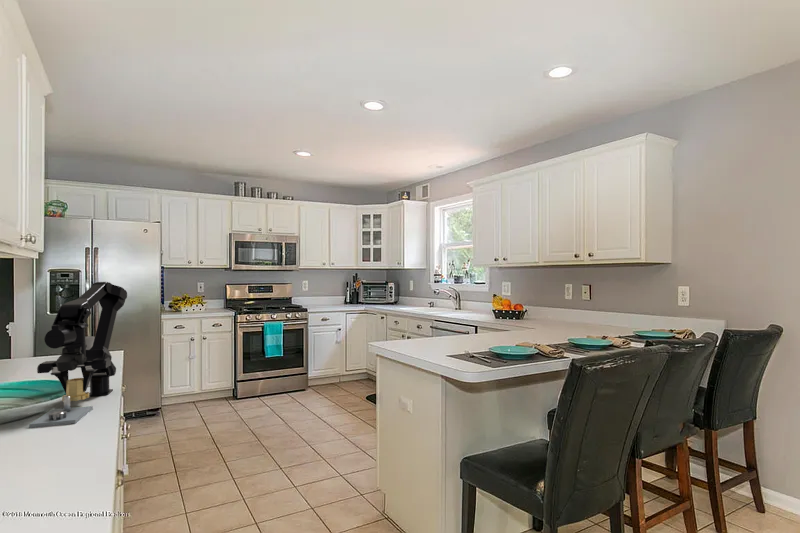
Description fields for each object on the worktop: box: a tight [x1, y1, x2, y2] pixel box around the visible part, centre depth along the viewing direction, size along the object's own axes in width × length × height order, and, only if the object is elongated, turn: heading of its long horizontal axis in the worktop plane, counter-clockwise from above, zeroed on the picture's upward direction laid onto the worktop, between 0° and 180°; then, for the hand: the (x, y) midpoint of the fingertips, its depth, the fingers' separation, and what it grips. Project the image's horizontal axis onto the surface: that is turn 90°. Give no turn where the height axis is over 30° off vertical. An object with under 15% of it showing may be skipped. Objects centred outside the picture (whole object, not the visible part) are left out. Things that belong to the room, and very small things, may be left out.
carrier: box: [29, 396, 94, 429], centre depth 138 cm, size 14×11×6 cm
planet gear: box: [61, 377, 90, 402], centre depth 151 cm, size 7×7×6 cm
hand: (75, 392), depth 151 cm, fingers closed on planet gear, 5 cm apart
